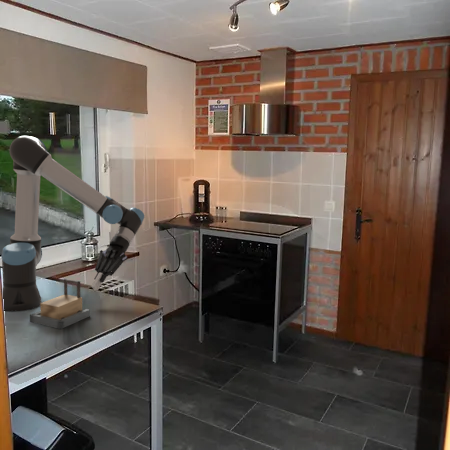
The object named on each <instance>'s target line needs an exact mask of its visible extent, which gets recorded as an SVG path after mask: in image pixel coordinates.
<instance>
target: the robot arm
mask: <svg viewBox="0 0 450 450" xmlns="http://www.w3.org/2000/svg"><path fill="white" fill-rule="evenodd" d="M9 155H10V158H11V159H12V160H13V163H12V166H13V167H12V168H13V169H12V170H13V171H14V172H15V173H16V198H15V218H14V234H12V235H11V236H10V239H9V243H10V244H7V245H6V246H5V245H4V247H3V248H2V251H1V263H2V264H1V266H2V289H3V299H4V309H5V312H25V311H30V310H32V309H35V308H38V307H40V303H42V297H41V294H40V291H39V288H38V286H37V266H38V264H39V263H41V259H42V257H43V251H42V237H41V236H40V235H39V234H38V231H39V211H40V208H39V207H40V192H41V191H40V190H41V177H43V178H44V179H46V180H47V181H48V182H50V183H51V184H53V185H54V186H56V187H57V188H59V189H60V190H62V191H63V192H65V194H67V195H69V196H70V197H72V198H73V199H74V200H76V201H78V202H79V203H80V204H82V205H84V206H85V207H86V208H88V209H89V210H90V211H92V212H94V213H95V214H96V215H98V216H99V217H100V218H102V219H103V220H104V221H105V222H106V223H107V224H108V225H116V224H118V225H119V227H118V228H117V230H116V231H115V233H114V236H113V237H112V239H111V240H110V242H109V245H108V247H107V248H106V250H102V249H101V250H100V251H99V257H98V259H97V262H96V265H95V267H94V271H96V275H95V276H94V281H93V282H92V284H91V286H90V287H91V288H92V289H93V290H94V291H98V290H99V289H100V287H101V286H102V284H103V283H104V282H105V281H106V278H107V277H108V276H114V274H115V273H116V272H117V271H118V269H119V268H120V267H121V266H122V264H123V263H125V261H127V260H128V256H127V255H126V254H125V253H126V252H127V250H128V249H129V247H130V244H131V243H132V242H133V240H134V238H135V236H136V235H137V233H138V231H139V229H140V227H141V225H142V224H143V221H144V219H145V213H144V212H143V210H141V209H140V208H137V207H129V208H127V207H126V206H123V204H121V203H119V202H118V201H116V200H115V199H114V198H111V197H110V196H108V195H103V193H101V192H100V191H98V190H97V189H95V188H94V187H93V186H92V185H90V184H88V183H87V182H86V181H84V180H82V178H80V177H78V176H77V175H76V174H74V172H72V171H70V170H69V169H68V168H66V167H64V166H63V165H62V164H61V163H59V162H58V161H56V160H55V159H53V158H52V154H51V153H49V152H48V149H47V147H46V145H45V143H44V142H43V141H42V140H41V139H39V138H37V137H36V136H35V137H34V136H29V135H21V136H18V137H16V138H15V139H13V140H12V142H11V144H10V146H9Z"/></svg>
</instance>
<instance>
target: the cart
mask: <svg viewBox="0 0 450 450" xmlns="http://www.w3.org/2000/svg"><path fill="white" fill-rule="evenodd" d="M68 283H70V284H76V295H71V294H68ZM63 292H64V293H63V294H62V295H59V296H57V297H53V298H51V299H47V300H45V301H41V303H40V306H39V307H40V311H41V315H42V316H46V317H50V318H54V319H59V320H61V319H64V318H66V317H69V316H71V315H73V314H76V313H78V312H81V311H83V297H81V281H80V280H74V279H69V278H68V279H67V278H64V279H63Z"/></svg>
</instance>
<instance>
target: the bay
mask: <svg viewBox="0 0 450 450" xmlns="http://www.w3.org/2000/svg"><path fill="white" fill-rule="evenodd" d="M90 316H91V310H90V309H88V308H86V309H82V311H81V312H78V313H76V314H73V315H71V316H69V317H66V318H64V319H61V320H59V319H54V318H50V317H46V316H42V315H41V310H38V311H36V312H34V313H31V314H29V322H30V323H35V324H39V325H43V326H46V327H50V328H55V329H58V330H62V329H64V328H67V327H69V326H71V325H73V324H75V323H78V322H79V321H82V320H85V319H87V318H89V317H90Z"/></svg>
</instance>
